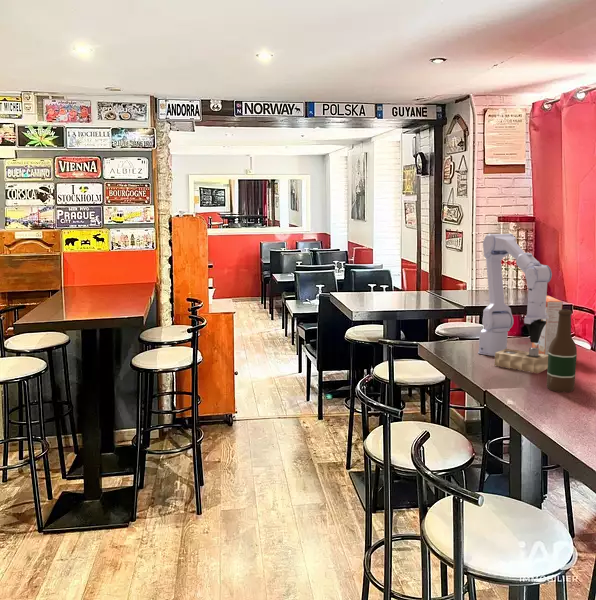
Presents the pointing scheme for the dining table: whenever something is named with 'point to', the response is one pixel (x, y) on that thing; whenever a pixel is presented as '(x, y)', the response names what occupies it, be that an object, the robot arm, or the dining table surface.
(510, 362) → the socket block
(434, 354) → the dining table surface
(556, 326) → the cracker box
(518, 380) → the dining table surface
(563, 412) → the dining table surface
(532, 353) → the peg
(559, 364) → the beer bottle
